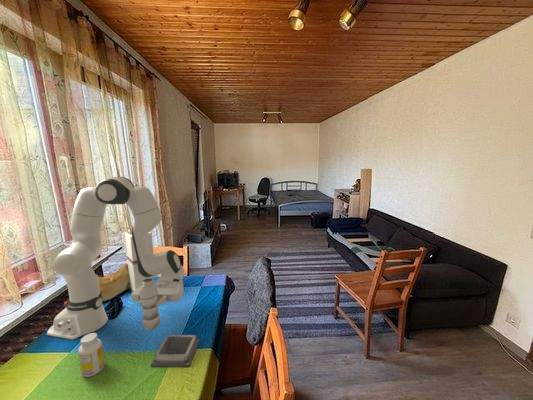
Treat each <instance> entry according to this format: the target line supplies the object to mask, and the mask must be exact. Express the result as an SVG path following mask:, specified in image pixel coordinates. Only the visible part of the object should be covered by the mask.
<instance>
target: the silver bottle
mask: <svg viewBox="0 0 533 400" xmlns="http://www.w3.org/2000/svg"><path fill="white" fill-rule="evenodd" d="M153 281H154V278H153V279H152V278H148V279H145V280H143V285H142V286H143V288H142V290H141V291H140V299H141V303H142V306H141V308H142V327H143V329H144V330H147V331H152V330H155V329H157V328H158V327H160V326H161V325H160V324H161V320H162V319H161V318H162V317H161V315H160V311H159V306H155V305H156V304H155V303H156V302H157V299H158V290H157V288H156V287H155V286H153Z"/></svg>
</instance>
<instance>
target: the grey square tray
mask: <svg viewBox="0 0 533 400" xmlns="http://www.w3.org/2000/svg"><path fill="white" fill-rule="evenodd" d="M200 342H201V339H200V338H197V335H196V334H167V335H166V337H164V340H163V341H162V343H161V345H160V346H159V348H158V349H157V351H156V353H155V355H154V356H153V360H152V362H151V364H150V367H152V368H153V367H155V368H156V367H157V368H158V367H159V368H160V367H161V368H170V367H171V368H190V366H191V364H192V361H193V358H194V356H195V354H196V351H197V349H198V346H199V345H200V344H199V343H200Z"/></svg>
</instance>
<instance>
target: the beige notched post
mask: <svg viewBox="0 0 533 400" xmlns="http://www.w3.org/2000/svg"><path fill="white" fill-rule="evenodd" d="M152 233H153V232H151V231H150V232H149V233H148V234H147V235H146V243H147V248H148V253H149V254H150V255H153V254H154V247H153V246H154V245H153V235H152ZM124 239H125V248H126V257H127V264H128V269H129V277H130V288H129V289H130V292H131V293H132V292H134V291H135V290H136V289H138V288H139V287H141V286H142V285H143V280H145V279H148V278H146V277H144V276H142V275H141V274H140V273H139V272H138V267H137V257H136V252H135V248H134V243H133V238H132V234H130V233H128V231H125V232H124ZM149 278H152V279H153V285H154V283H155V281H154V276H151V277H149Z"/></svg>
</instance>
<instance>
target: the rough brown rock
mask: <svg viewBox="0 0 533 400" xmlns="http://www.w3.org/2000/svg"><path fill="white" fill-rule="evenodd" d="M98 277H99V285H100V291H101V292H102V303H103V302H106V301H110V300H112V299H113V297H114V298H116V297H117V296H119V295H120V294H122V293H123V292H124V291H128V290H129V289H130V277H129V269H128V263H125V264H124V265H121V266H120V267H119V268H118V269H117V270H116V271H115V272H113V273H108V274H106V275H105V276H103V277H102V276H98Z"/></svg>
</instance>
